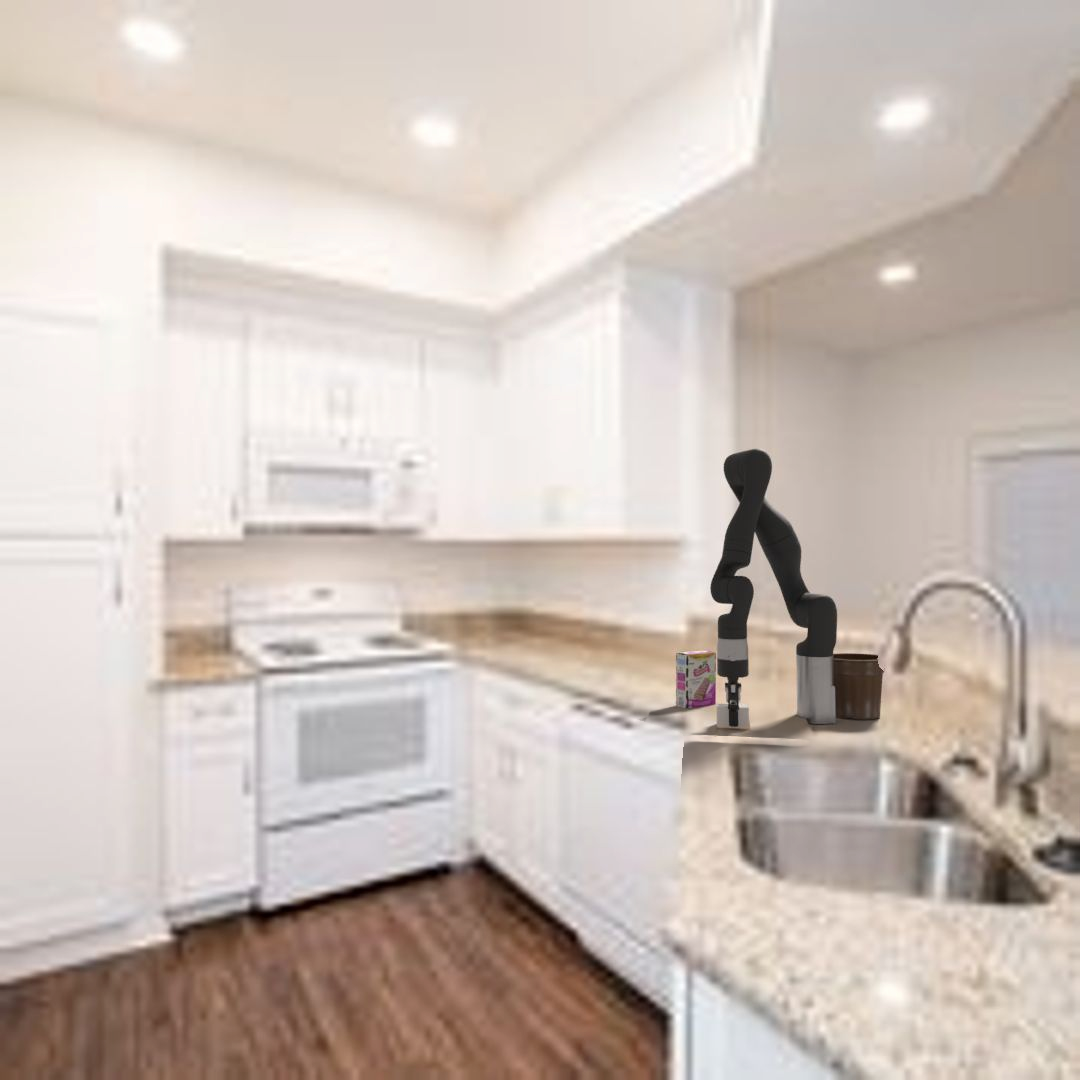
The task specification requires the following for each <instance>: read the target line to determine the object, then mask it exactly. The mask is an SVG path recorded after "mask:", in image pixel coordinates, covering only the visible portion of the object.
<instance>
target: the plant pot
mask: <svg viewBox="0 0 1080 1080" xmlns="http://www.w3.org/2000/svg"><path fill="white" fill-rule="evenodd" d="M878 655H879V654H871V653H857V652H856V653H855V652H854V653H853V652H852V653H851V652H849V653H848V652H846V653H845V652H844V653H843V652H842V653H840V652H839V653H833V667H834V686H835V715H836V718H838V717H839V718H841V719H850V718H851V719H854V720H858V721H859V720H861V721H862V720H863V721H868V720H869V721H870V720H876V719H879V717H880V718H881V709H882V708H881V706H882V691H883V678H884V677H883V676H884V673H885V670H884V671H883V670H882V669H881V668H880V667H879V664H878V659H877V658H878Z"/></svg>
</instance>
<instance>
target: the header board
mask: <svg viewBox="0 0 1080 1080" xmlns="http://www.w3.org/2000/svg"><path fill="white" fill-rule="evenodd" d="M716 730H720V731H721V730H722V731H723V730H725V731H742V732H743V731H745V732H746V731H749V732H750V731H752V729H751V721H750V719H749V729H743V728H718V727H717V726H716Z"/></svg>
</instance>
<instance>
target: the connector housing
mask: <svg viewBox="0 0 1080 1080" xmlns="http://www.w3.org/2000/svg"><path fill="white" fill-rule="evenodd" d="M734 705H737V704H734ZM749 709H750V708H749V704H741V703H739V711H738V726H737V727H731V726H729V711H728V703H716V728H717V727H718V728H743V729H749V720H750V712H749V711H750V710H749Z"/></svg>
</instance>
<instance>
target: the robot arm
mask: <svg viewBox="0 0 1080 1080" xmlns="http://www.w3.org/2000/svg"><path fill="white" fill-rule="evenodd" d="M772 471H773V463H772V458H771V456H770V455H769V454H768V452H766V451H765V450H764V449H763V448H751V449H747V450H743V451H739V452H736V453H731V454H730V455H728V456H727V457H726V458H725V459H724V462H723V474H724V477H725V479H726V482H727V483H728V485H729V488H730V489H731V491H732V492H733V494H734V496H735V497H736V499H737V500H738V502H739V504H738V507H737V509H736V511H735V512H734V514H733V516H732V518H731V519H730V522H729V524H728V526H727V528H726V531H725V534H724V540H723V547H722V555H721V558H720V560H719V562H718V565H717V567H716V570H715V572H714V574H713V577H712V579H711V583H710V595H711V598H712V599H713V601H715V603H717V604H724V605H732V606H731V609H730V611H729V612H728V613H723V614H720V615H719V617H718V618H717V643H716V644H717V645H716V665H717V666H716V671H717V673H716V675H718V676H719V677H722V678H726V679H727V682H725V683H724V691H725V699H726V700H725V702H726V704H728V711H729V726H731V727H737V726H738V711H739V704H741V702H742V701H741V697H742V696H741V693H742V683H741V682H739V679H740V678H746V677H749V672H750V671H749V665H750V664H749V644H748V643H749V642H748V620H749V615H750V612H751V607H752V604H753V599H754V597H755V596H754V595H755V593H754V592H755V591H754V590H755V589H754V585H753V583H752V581H751V579H750V578H749V577H747V576H745V575H736V573H737V572H738V571H739V570H741V569H744V568H746V567H749V565H750V564H751V560H752V553H753V548H754V547H753V546H754V545H753V544H754V537H755V535H756V538H757V540H758V542H759V545H760V547H761V550H762V551H763V553H764V556H765V558H766V559H767V561H768V563H769V566H770V568H771V570H772V572H773V575H774V577H775V579H776V582H777V584H778V586H779V589H780V592H781V594H782V598H783V600H784V603H785V607H786V609H787V612H788V615H789V617H790V619H791V620H792V622H793V624H795V625H796V626H798V627H800V628H802V629H807V632H806V633H807V635H806V638H805V639H804V640H802V641H800V642H797V644H796V647H795V649H796V650H795V651H796V652H795V653H796V658H795V659H796V660H795V661H796V667H795V668H796V669H795V670H796V716H798V717H800V718H805V719H806V721H807V724H812V725H828V724H836V723H837V721H836V720H837V719H836V718H837V717H836V715H835V686H834V667H833V654H834V649H835V647H836V644H837V636H838V635H837V633H838V609H837V605H836V603H835V600H834V599H833V598H832V597H831V596H829V595H828V594H822V593H821V594H820V593H811V592H810V590H808V587H807V586H806V584H805V581H804V579H803V576H802V573H801V572H802V571H801V563H802V562H801V561H802V546H801V542H800V540H799V538H798V536H797V533H796V531H795V529H794V527H793V526H792V523H791V522H790V521H789V520H788V519H787V517H786V516H784V514H782V513H781V512H780V511H779V510H778V509H777V508H776V507H774V506H773V504H771V503H770V502H769V501H768V499H766V497H765V496H766V494H767V493H766V492H767V490H768V487H769V484H770V480H771V477H772ZM734 704H737V705H734Z"/></svg>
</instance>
